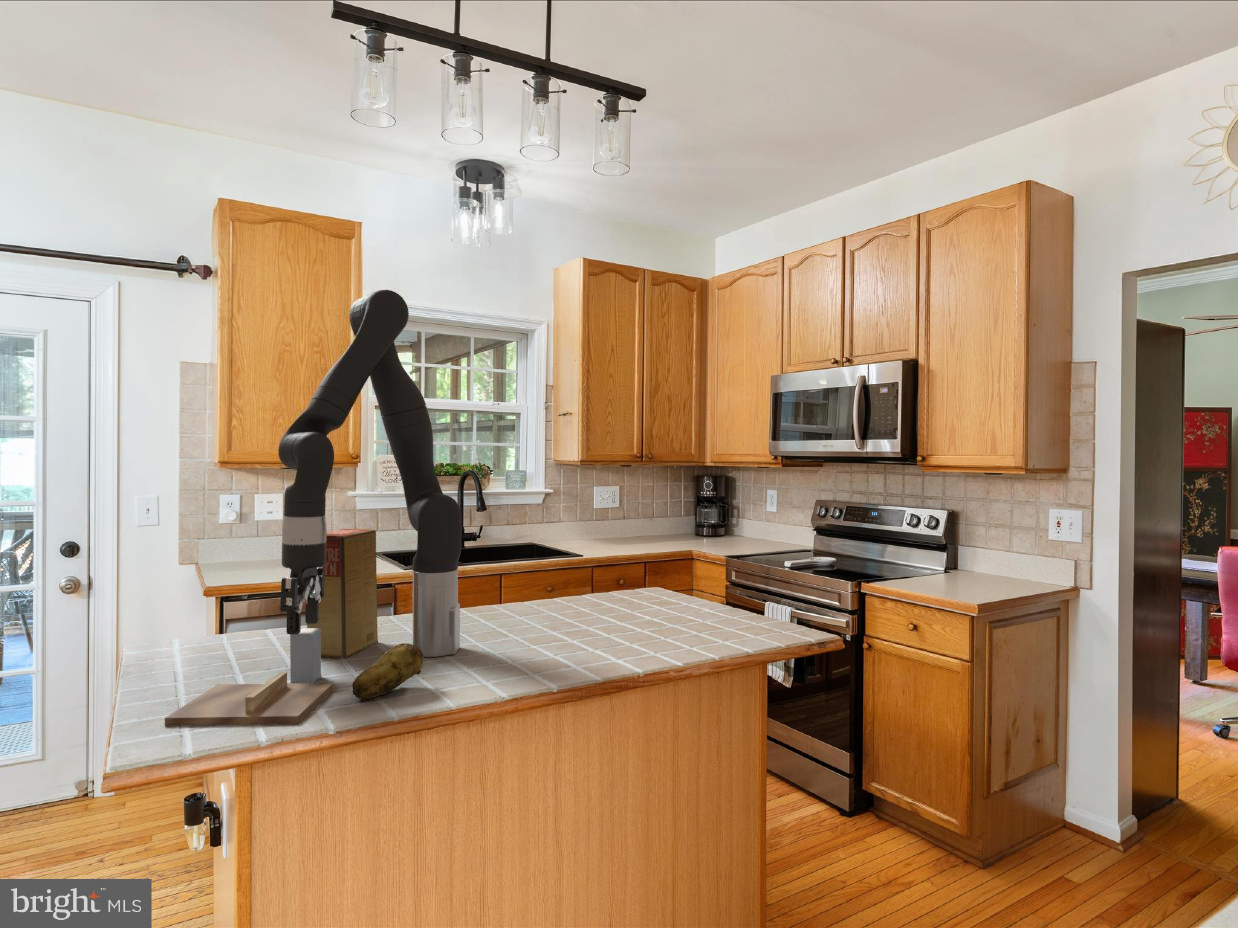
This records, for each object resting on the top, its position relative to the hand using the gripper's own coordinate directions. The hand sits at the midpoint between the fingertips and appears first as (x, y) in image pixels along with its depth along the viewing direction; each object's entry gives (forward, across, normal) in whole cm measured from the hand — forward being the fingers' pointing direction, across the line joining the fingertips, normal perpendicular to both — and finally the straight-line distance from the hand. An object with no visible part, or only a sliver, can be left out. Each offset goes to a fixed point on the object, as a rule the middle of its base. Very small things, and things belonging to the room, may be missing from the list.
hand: (303, 628), depth 134 cm
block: (+10, 0, -1) cm, 10 cm away
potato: (+10, -8, -18) cm, 22 cm away
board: (+10, -14, +2) cm, 17 cm away
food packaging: (+10, +21, 0) cm, 23 cm away
